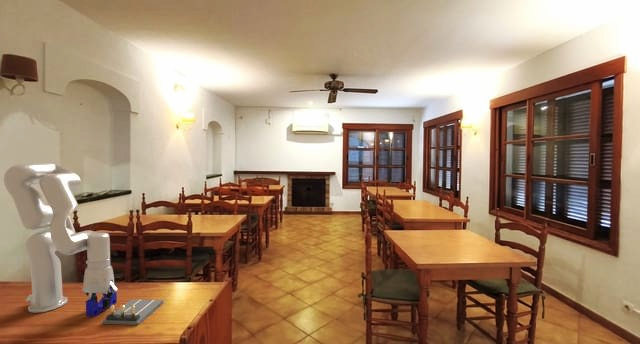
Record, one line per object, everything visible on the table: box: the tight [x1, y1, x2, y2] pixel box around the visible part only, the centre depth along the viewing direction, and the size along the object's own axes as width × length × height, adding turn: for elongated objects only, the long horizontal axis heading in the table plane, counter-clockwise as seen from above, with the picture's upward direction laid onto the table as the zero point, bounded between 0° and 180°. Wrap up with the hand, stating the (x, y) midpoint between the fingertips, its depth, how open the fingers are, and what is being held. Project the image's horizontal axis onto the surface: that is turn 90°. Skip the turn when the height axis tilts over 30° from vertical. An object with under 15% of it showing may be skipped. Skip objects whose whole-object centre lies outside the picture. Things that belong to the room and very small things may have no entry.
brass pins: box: [105, 304, 140, 321], centre depth 121 cm, size 12×2×5 cm, turn 87°
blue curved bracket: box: [85, 289, 118, 318], centre depth 130 cm, size 12×4×6 cm, turn 172°
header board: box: [102, 299, 164, 326], centre depth 128 cm, size 14×17×1 cm
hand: (100, 306), depth 130 cm, fingers closed on blue curved bracket, 4 cm apart
